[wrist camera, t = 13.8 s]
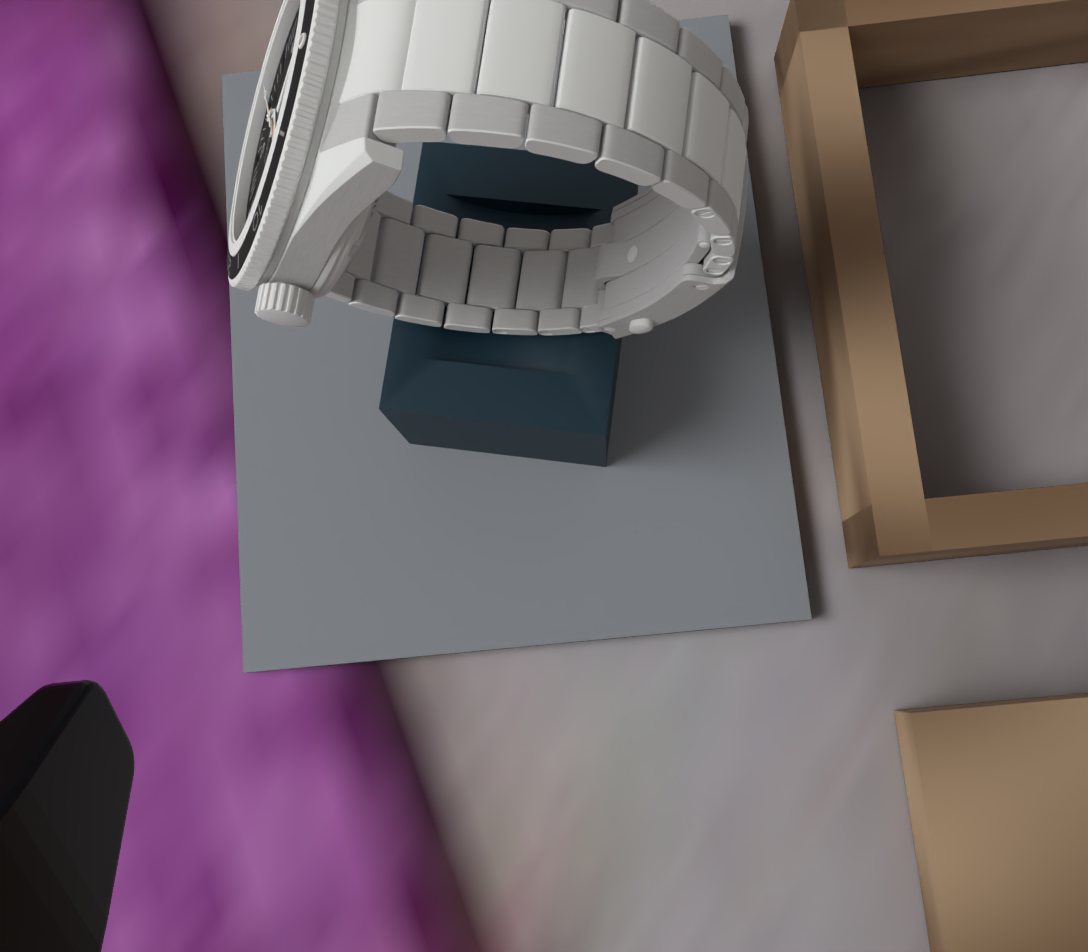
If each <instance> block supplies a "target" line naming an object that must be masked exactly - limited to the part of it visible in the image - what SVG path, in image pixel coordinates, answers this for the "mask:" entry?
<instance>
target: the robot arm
mask: <svg viewBox="0 0 1088 952" xmlns="http://www.w3.org/2000/svg"><path fill="white" fill-rule="evenodd" d="M133 775H134V754H133V750H132V746H131V743H130V741H129V739H128V737H127V735H126V733H125V731H124V729H123V727H122V725H121V723H120V721H119V719H118V717H117V715H116V712H115V710H114V708H113V706H112V704H111V702H110V700H109V698H108V696H107V694H106V692H105V691H104V689H103V688H102V687H101V686H100V685H99V684H98V683H96V682H95V681H90V680H82V681H72V682H61V683H52V684H48V685H45V686H43V687H41V688H40V689H39V690H37V691H36V692H35V693H33V694H32V695H31V696H30V697H29V698H27V699H26V700H25V701H24V702H23V703H22V704H20V705H19V706H18V707H17V708H16V709H15V710H13V711H12V712H11V713H10V714H9V715H8V716H6V717H5V718H4V719H3V720H2V721H0V952H101V949H102V944H103V939H104V934H105V930H106V925H107V920H108V915H109V909H110V904H111V898H112V892H113V887H114V881H115V876H116V870H117V865H118V859H119V854H120V848H121V842H122V837H123V831H124V826H125V820H126V815H127V809H128V804H129V798H130V792H131V787H132V781H133Z"/></svg>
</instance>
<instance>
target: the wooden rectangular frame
mask: <svg viewBox="0 0 1088 952" xmlns="http://www.w3.org/2000/svg"><path fill="white" fill-rule="evenodd" d="M774 61H775V68H776V75H777V81H778V88H779V95H780V102H781V109H782V115H783V122H784V129H785V136H786V143H787V150H788V156H789V163H790V170H791V177H792V184H793V191H794V197H795V204H796V211H797V218H798V225H799V232H800V238H801V245H802V252H803V259H804V266H805V273H806V279H807V286H808V293H809V300H810V307H811V314H812V320H813V327H814V334H815V341H816V348H817V355H818V361H819V368H820V375H821V382H822V389H823V396H824V402H825V409H826V416H827V423H828V430H829V437H830V443H831V450H832V457H833V464H834V471H835V477H836V484H837V491H838V498H839V505H840V512H841V518H842V525H843V532H844V539H845V546H846V553H847V559H848V566H849V568H859V567H869V566H880V565H890V564H900V563H911V562H921V561H932V560H942V559H953V558H963V557H974V556H984V555H994V554H1005V553H1015V552H1026V551H1036V550H1047V549H1057V548H1067V547H1078V546H1088V483H1081V484H1071V485H1060V486H1050V487H1040V488H1030V489H1020V490H1010V491H999V492H989V493H979V494H969V495H959V496H949V497H938V498H928V499H924V493H923V487H922V480H921V474H920V468H919V462H918V456H917V450H916V443H915V437H914V431H913V425H912V419H911V413H910V406H909V400H908V394H907V388H906V382H905V376H904V369H903V363H902V357H901V351H900V345H899V339H898V332H897V326H896V320H895V314H894V308H893V302H892V295H891V289H890V283H889V277H888V271H887V265H886V258H885V252H884V246H883V240H882V234H881V227H880V221H879V215H878V209H877V203H876V197H875V191H874V184H873V178H872V172H871V166H870V160H869V153H868V147H867V141H866V135H865V129H864V123H863V116H862V110H861V104H860V98H859V92H858V88H864V87H872V86H881V85H890V84H898V83H907V82H916V81H924V80H933V79H942V78H950V77H959V76H968V75H976V74H985V73H994V72H1002V71H1011V70H1020V69H1028V68H1037V67H1046V66H1054V65H1063V64H1072V63H1080V62H1088V0H790V2H789V6H788V10H787V13H786V17H785V21H784V24H783V28H782V32H781V35H780V39H779V42H778V46H777V50H776V53H775V57H774Z"/></svg>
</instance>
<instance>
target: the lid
mask: <svg viewBox="0 0 1088 952" xmlns="http://www.w3.org/2000/svg"><path fill="white" fill-rule="evenodd" d="M894 712H895V719H896V725H897V732H898V738H899V745H900V752H901V758H902V765H903V772H904V778H905V785H906V792H907V798H908V805H909V811H910V818H911V825H912V831H913V838H914V845H915V851H916V858H917V864H918V871H919V878H920V884H921V891H922V898H923V904H924V911H925V918H926V924H927V931H928V937H929V944H930V951H931V952H1088V693H1083V694H1072V695H1061V696H1050V697H1038V698H1027V699H1016V700H1005V701H994V702H983V703H972V704H960V705H949V706H938V707H927V708H916V709H905V710H894Z"/></svg>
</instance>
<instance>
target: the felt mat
mask: <svg viewBox="0 0 1088 952" xmlns="http://www.w3.org/2000/svg"><path fill="white" fill-rule="evenodd" d="M678 21H679V23H680V27H685V28H687V29H689V30H690V31H692V32H693V33H694V34H695V35H697V36H698V37H699V38H700V39H701V40H702V41H704V42H705V43H706V44H707V45H708V46H709V47H710V48H711V49H712V50H713V51H714V52H715V53H716V54H717V55H718V57H719V58H720V59H721V61H722V66H726V67H727V68H728V69H729V70H730V71H731V73H732V75H733V76H734V78H735V79H736V81H737V76H736V69H735V61H734V54H733V47H732V40H731V32H730V25H729V18H728V15H720V16H712V17H703V18H695V19H686V20H678ZM563 36H564V34H562V40H561V47H560V54H559V61H558V68H557V76H556V83H555V90H554V97H553V104H552V107H553V106H554V99H555V92H556V85H557V78H558V71H559V64H560V57H561V50H562V43H563ZM483 49H484V46H483ZM482 55H483V52H482ZM481 62H482V58H481ZM480 68H481V65H480ZM260 73H261V70H258V71H250V72H241V73H233V74H225V75H222V95H223V122H224V150H225V178H226V206H227V233H228V239H229V225H230V217H231V209H232V202H233V195H234V189H235V183H236V177H237V172H238V167H239V161H240V157H241V152H242V147H243V142H244V138H245V133H246V129H247V124H248V120H249V116H250V112H251V108H252V104H253V100H254V96H255V92H256V88H257V84H258V80H259V77H260ZM479 74H480V71H479ZM478 81H479V78H478ZM477 87H478V84H477ZM476 94H477V90H476ZM451 107H452V106H451ZM528 119H529V114H528V115H527V122H526V128H525V135H524V140H523V143H522V144H521V145H520V146H519V147H518V148H508V149H518V150H527V149H526V148H525V139H526V133H527V126H528ZM448 126H449V125H448ZM441 142H444V143H455V144H459V143H456V142H454V141H453V140H452V139H451V138H450V136H449V133H448V131H447V137H446V138H445V139H444V140H443V141H441ZM422 144H423V142H405V143H397V145H396V148H399V149H402V150H404V151H405V153H404V159H403V165H402V171H401V173H400V174H399V176H398V178H397V180H396V182H395V184H394V185H393V186H392V187H390V188H389V189H388V190H387V191H389V192H391V193H393V194H395V195H397V196H400V197H402V198H404V199H407V200H409V201H411V202H412V204H413V198H414V192H415V186H416V180H417V174H418V168H419V162H420V156H421V150H422ZM465 145H466V144H465ZM476 146H482V145H476ZM486 147H492V146H486ZM497 148H501V147H497ZM746 150H747V148H746ZM747 156H748V155H747ZM651 186H652V185H649V186H641V185H639V186H638V194H639V193H641V192H643V191H644V190H646V189H648V188H649V187H651ZM229 289H230V316H231V344H232V372H233V400H234V427H235V455H236V483H237V510H238V538H239V566H240V593H241V621H242V649H243V673H250V672H261V671H272V670H282V669H293V668H304V667H314V666H325V665H336V664H346V663H357V662H368V661H378V660H389V659H399V658H410V657H421V656H431V655H442V654H453V653H463V652H474V651H485V650H495V649H506V648H517V647H527V646H538V645H549V644H559V643H570V642H581V641H591V640H602V639H613V638H623V637H634V636H645V635H655V634H666V633H677V632H687V631H698V630H709V629H719V628H730V627H740V626H751V625H762V624H772V623H783V622H794V621H804V620H811V619H812V618H811V610H810V603H809V596H808V589H807V582H806V574H805V567H804V560H803V553H802V545H801V538H800V531H799V524H798V517H797V509H796V502H795V495H794V488H793V480H792V473H791V466H790V459H789V452H788V444H787V437H786V430H785V423H784V415H783V408H782V401H781V394H780V386H779V379H778V372H777V365H776V358H775V350H774V343H773V336H772V329H771V321H770V314H769V307H768V300H767V293H766V285H765V278H764V271H763V264H762V256H761V249H760V242H759V235H758V228H757V220H756V213H755V206H754V199H753V191H752V184H751V177H750V170H749V163H748V186H747V201H746V211H745V219H744V226H743V233H742V239H741V245H740V250H739V256H738V261H737V265H736V270H735V274H734V278H733V279H732V280H731V281H730V282H729V283H728V284H726V285H725V286H724V287H723V288H721V289H720V290H719V291H718V292H716V293H715V294H713V295H712V296H711V297H709V298H708V299H707V300H705V301H704V302H702V303H701V304H699V305H698V306H696V307H694V308H693V309H691V310H689V311H688V312H686V313H684V314H682V315H680V316H678V317H676V318H674V319H672V320H669V321H667V322H664V323H662V324H660V325H657V326H654V327H653V328H652V330H651V331H649V332H646V333H641V334H635V333H634V334H631V335H628V336H624V337H622V342H621V350H620V358H619V366H618V374H617V382H616V390H615V398H614V406H613V414H612V422H611V430H610V438H609V446H608V454H607V462H606V467H600V466H592V465H584V464H575V463H567V462H559V461H550V460H542V459H533V458H525V457H517V456H508V455H500V454H491V453H483V452H475V451H466V450H458V449H449V448H441V447H433V446H424V445H416V444H410V443H409V442H408V441H407V440H406V439H405V438H404V437H403V436H402V435H401V433H400V432H399V431H398V430H397V429H396V428H395V427H394V426H393V424H392V423H391V422H390V421H389V420H388V419H387V418H386V417H385V415H384V414H383V413H382V412H381V411H380V410H379V404H380V398H381V392H382V386H383V380H384V374H385V368H386V362H387V356H388V350H389V344H390V338H391V332H392V326H393V320H394V316H392V317H389V316H385V315H381V314H377V313H373V312H369V311H366V310H362V309H359V308H356V307H352V306H350V305H349V302H341V301H338V300H335V299H332V298H329V297H327V296H324V297H321V298H318V299H315V301H314V306H313V312H312V317H311V323H310V325H307V326H306V327H289V326H283V325H278V324H274V323H271V322H268V321H266V320H263V319H261V318H260V317H258V316H257V315H256V314H255V313H254V312H255V306H256V300H257V295H258V290H259V288H258V287H257V286H255V287H254V288H253V289H252V290H250V291H246V290H242V289H238V288H235V287H232V286H231V285H230V283H229Z"/></svg>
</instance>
